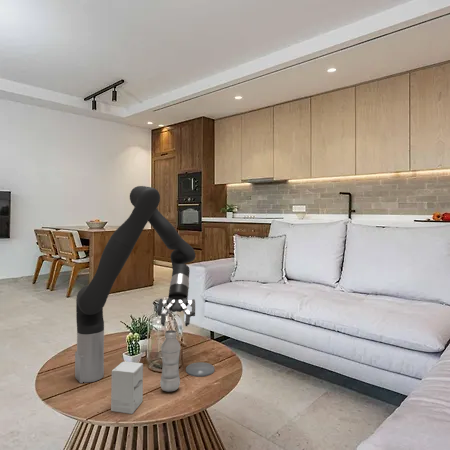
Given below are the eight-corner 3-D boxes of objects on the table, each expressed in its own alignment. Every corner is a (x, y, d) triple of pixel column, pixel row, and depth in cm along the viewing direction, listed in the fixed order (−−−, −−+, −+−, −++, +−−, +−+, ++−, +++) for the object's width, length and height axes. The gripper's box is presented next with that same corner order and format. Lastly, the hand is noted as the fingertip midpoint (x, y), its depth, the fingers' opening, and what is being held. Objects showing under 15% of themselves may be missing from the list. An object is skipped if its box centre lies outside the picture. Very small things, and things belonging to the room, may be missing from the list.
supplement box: (133, 414, 106) (133, 372, 106) (110, 411, 108) (110, 370, 107) (143, 401, 114) (143, 362, 113) (122, 399, 115) (122, 360, 115)
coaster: (196, 379, 129) (196, 377, 129) (180, 369, 138) (180, 367, 138) (220, 371, 137) (220, 369, 137) (203, 361, 145) (203, 360, 145)
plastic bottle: (158, 387, 123) (158, 330, 123) (177, 383, 126) (177, 327, 125) (162, 395, 117) (163, 335, 117) (182, 392, 120) (183, 333, 120)
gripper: (160, 282, 139) (154, 320, 128) (196, 282, 139) (193, 320, 128) (162, 292, 145) (156, 329, 134) (197, 293, 145) (194, 330, 134)
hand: (174, 325), depth 131 cm, fingers open, 8 cm apart
